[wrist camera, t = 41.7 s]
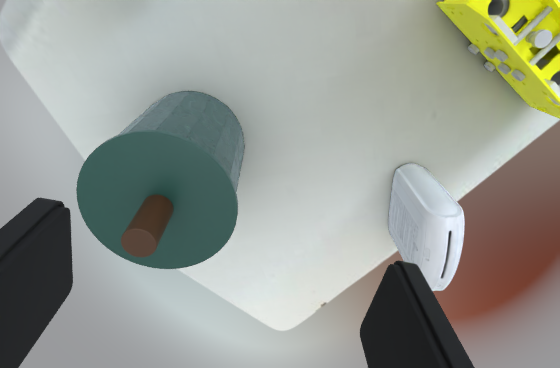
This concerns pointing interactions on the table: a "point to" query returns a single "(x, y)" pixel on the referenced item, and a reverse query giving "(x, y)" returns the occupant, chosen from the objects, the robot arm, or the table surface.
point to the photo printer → (426, 224)
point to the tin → (198, 126)
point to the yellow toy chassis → (515, 44)
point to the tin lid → (157, 199)
